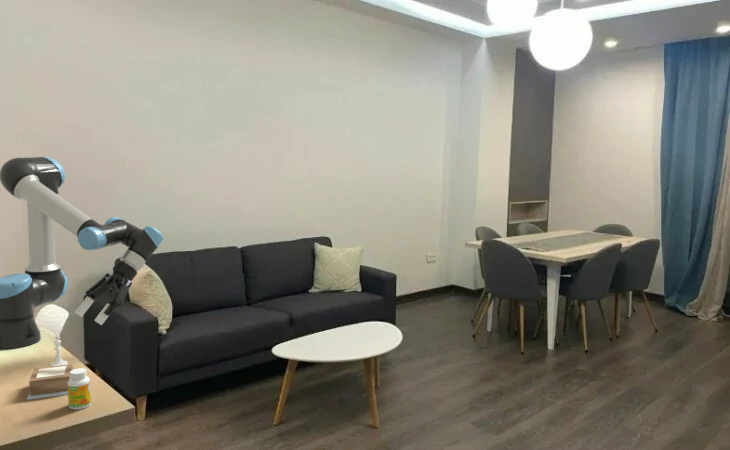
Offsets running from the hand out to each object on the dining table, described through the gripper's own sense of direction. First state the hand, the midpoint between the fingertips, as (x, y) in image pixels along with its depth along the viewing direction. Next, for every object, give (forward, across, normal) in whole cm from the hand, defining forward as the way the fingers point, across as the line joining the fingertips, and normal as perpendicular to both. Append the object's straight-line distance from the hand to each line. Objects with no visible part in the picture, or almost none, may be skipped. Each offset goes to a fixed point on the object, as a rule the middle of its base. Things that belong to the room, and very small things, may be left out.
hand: (87, 318), depth 190 cm
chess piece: (+16, +1, -3) cm, 16 cm away
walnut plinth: (+22, -16, +4) cm, 28 cm away
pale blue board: (+21, -13, +3) cm, 25 cm away
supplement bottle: (+23, -33, +4) cm, 40 cm away
